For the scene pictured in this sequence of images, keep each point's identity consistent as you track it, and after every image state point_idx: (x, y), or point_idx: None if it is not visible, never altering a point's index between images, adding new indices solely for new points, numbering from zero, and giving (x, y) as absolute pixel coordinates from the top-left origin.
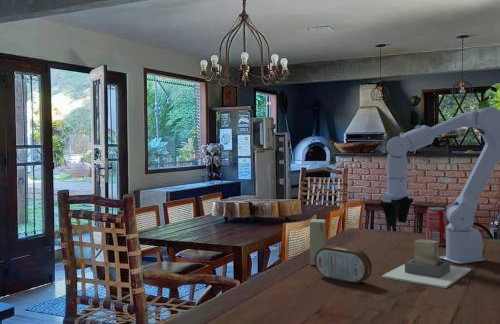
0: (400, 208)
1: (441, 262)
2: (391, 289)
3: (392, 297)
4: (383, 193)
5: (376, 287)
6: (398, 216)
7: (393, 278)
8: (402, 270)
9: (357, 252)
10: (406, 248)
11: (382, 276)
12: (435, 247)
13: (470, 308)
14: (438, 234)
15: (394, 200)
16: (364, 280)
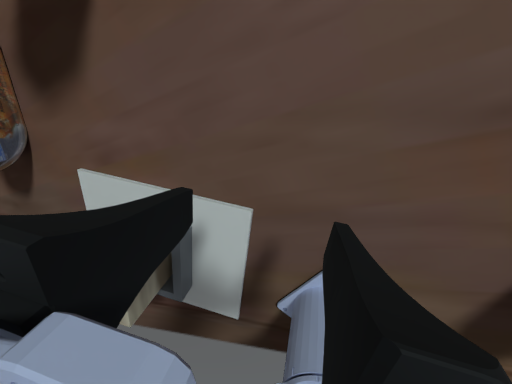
0: (342, 306)
1: (174, 287)
2: (39, 199)
3: (13, 207)
4: (17, 343)
5: (27, 174)
6: (336, 243)
7: (84, 194)
8: None
9: None
10: (478, 162)
11: (79, 170)
12: None
13: None
14: None
15: (372, 339)
16: (24, 145)
